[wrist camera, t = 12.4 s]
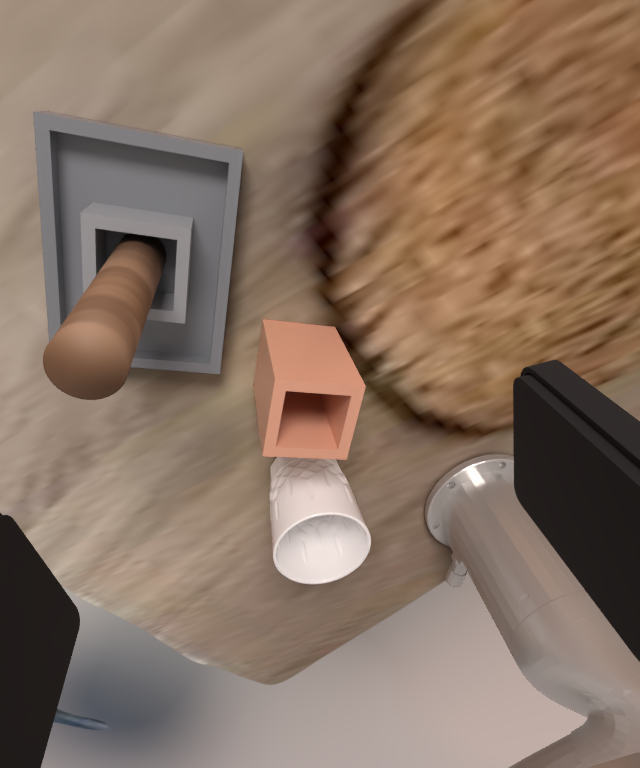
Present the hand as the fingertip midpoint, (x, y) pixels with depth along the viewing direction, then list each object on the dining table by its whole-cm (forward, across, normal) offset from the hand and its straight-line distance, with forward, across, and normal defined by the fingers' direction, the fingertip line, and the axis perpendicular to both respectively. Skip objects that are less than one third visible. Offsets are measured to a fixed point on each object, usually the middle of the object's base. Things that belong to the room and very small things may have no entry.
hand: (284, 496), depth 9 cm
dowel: (+29, +7, +1) cm, 30 cm away
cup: (+31, -1, +12) cm, 33 cm away
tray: (+30, +7, +1) cm, 31 cm away
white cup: (+31, +1, +25) cm, 40 cm away
